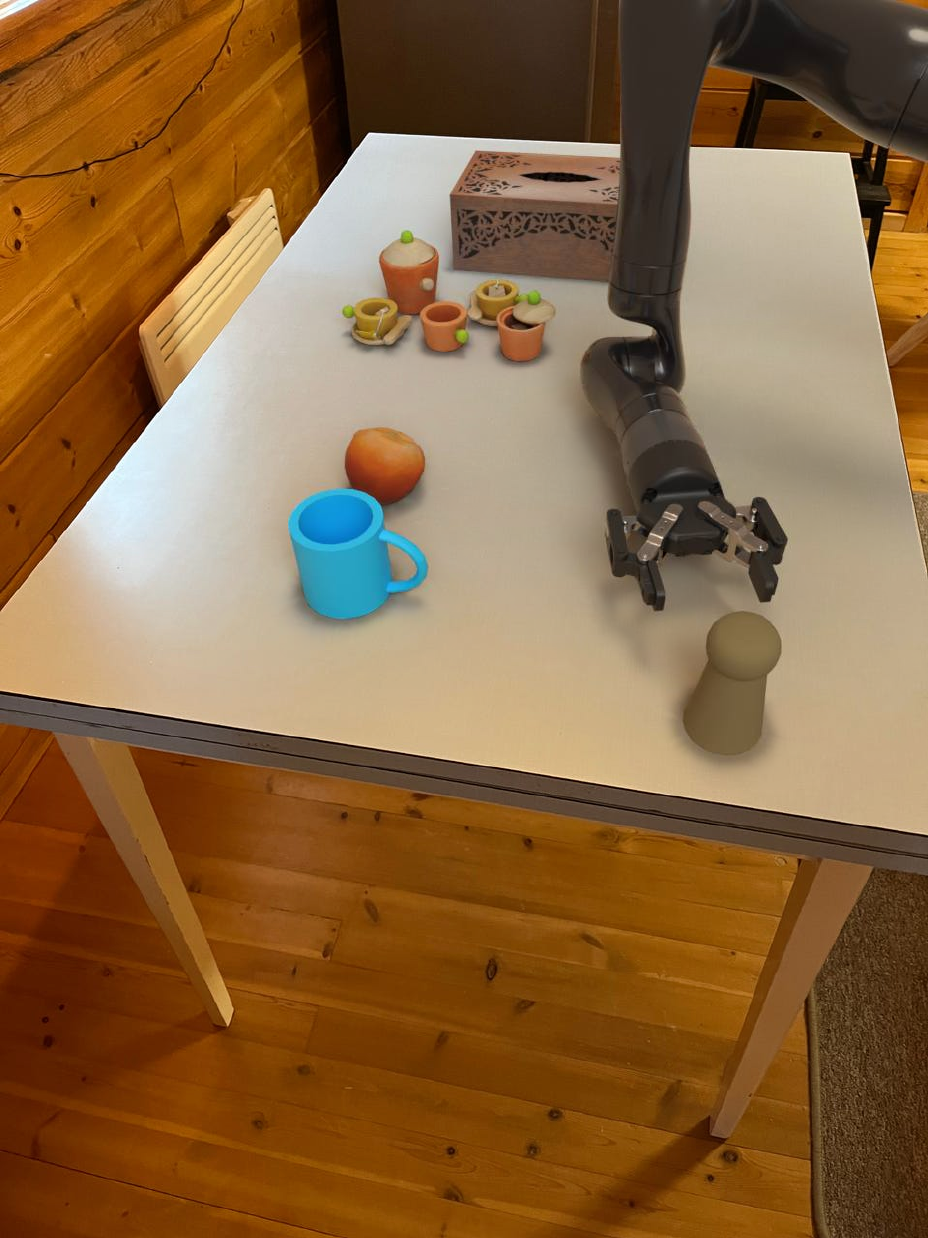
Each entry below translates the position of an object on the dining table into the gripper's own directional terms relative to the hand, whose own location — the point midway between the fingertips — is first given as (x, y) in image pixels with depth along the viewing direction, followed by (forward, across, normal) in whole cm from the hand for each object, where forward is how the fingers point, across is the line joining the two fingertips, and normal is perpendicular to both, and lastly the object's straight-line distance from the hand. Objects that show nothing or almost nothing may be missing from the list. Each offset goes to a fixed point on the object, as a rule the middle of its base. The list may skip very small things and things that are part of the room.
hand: (714, 599), depth 73 cm
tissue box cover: (-74, -2, +7) cm, 74 cm away
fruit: (-25, -26, +7) cm, 37 cm away
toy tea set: (-56, -17, +7) cm, 59 cm away
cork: (+7, 0, +7) cm, 10 cm away
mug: (-11, -28, +7) cm, 31 cm away
